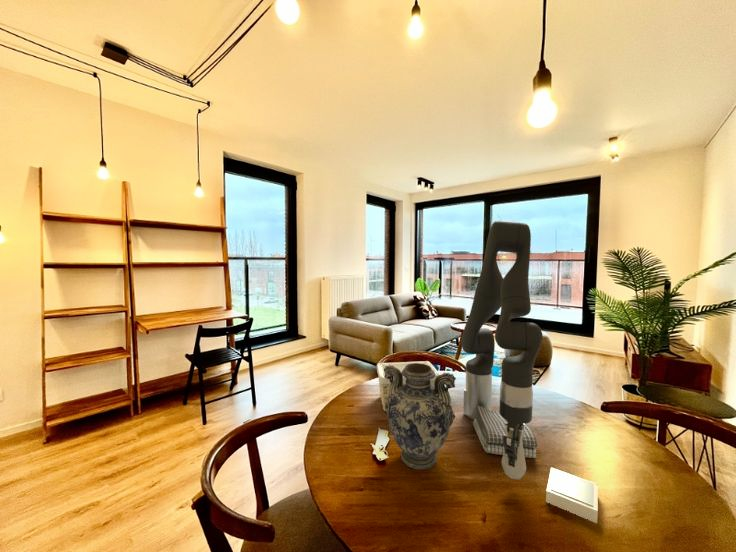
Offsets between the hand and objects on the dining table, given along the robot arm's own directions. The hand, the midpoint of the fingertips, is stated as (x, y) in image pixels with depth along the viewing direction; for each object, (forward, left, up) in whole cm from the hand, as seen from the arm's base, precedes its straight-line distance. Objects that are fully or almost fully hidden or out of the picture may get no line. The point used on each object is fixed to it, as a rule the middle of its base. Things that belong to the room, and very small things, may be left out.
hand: (513, 462), depth 78 cm
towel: (-7, +20, -8) cm, 23 cm away
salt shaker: (0, 0, -3) cm, 3 cm away
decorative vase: (-26, -4, -7) cm, 27 cm away
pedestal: (+12, +5, -7) cm, 15 cm away
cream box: (-45, +24, -7) cm, 52 cm away
